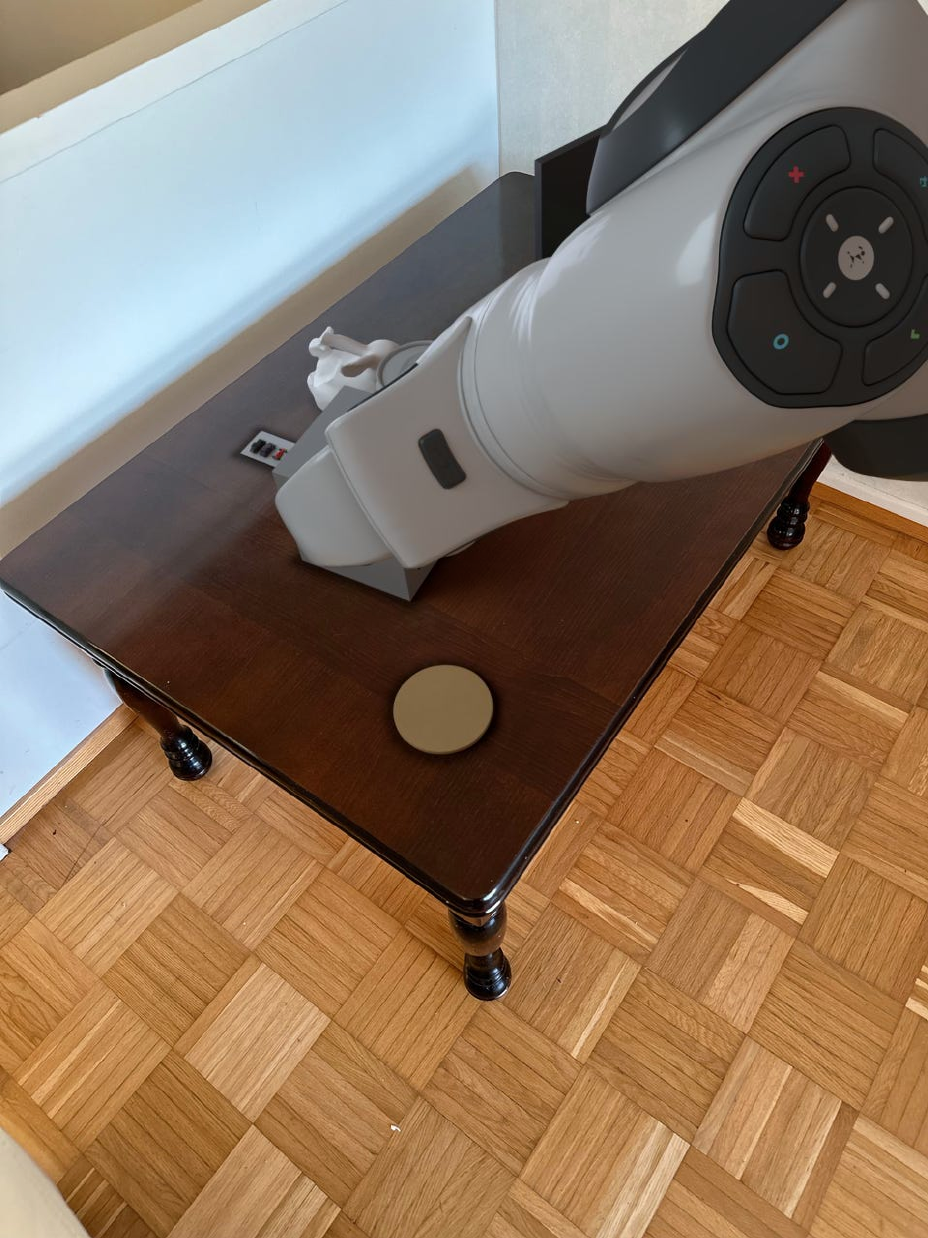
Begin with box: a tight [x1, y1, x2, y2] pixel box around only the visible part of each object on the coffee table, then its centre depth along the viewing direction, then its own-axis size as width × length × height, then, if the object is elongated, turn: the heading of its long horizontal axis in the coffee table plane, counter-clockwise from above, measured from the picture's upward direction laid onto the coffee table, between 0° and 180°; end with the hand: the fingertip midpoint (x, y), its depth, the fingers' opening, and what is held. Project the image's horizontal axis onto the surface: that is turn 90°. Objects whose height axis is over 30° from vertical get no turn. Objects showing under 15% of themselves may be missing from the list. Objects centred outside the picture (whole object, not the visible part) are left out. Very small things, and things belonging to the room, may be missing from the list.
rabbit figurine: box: [307, 326, 400, 412], centre depth 78 cm, size 12×8×10 cm, turn 62°
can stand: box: [533, 123, 607, 262], centre depth 83 cm, size 10×9×14 cm
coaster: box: [393, 664, 494, 755], centre depth 64 cm, size 7×7×1 cm
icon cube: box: [271, 385, 439, 602], centre depth 69 cm, size 10×10×10 cm
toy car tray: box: [240, 430, 296, 468], centre depth 79 cm, size 3×8×1 cm, turn 60°
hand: (426, 445), depth 49 cm, fingers closed on beverage can, 5 cm apart
